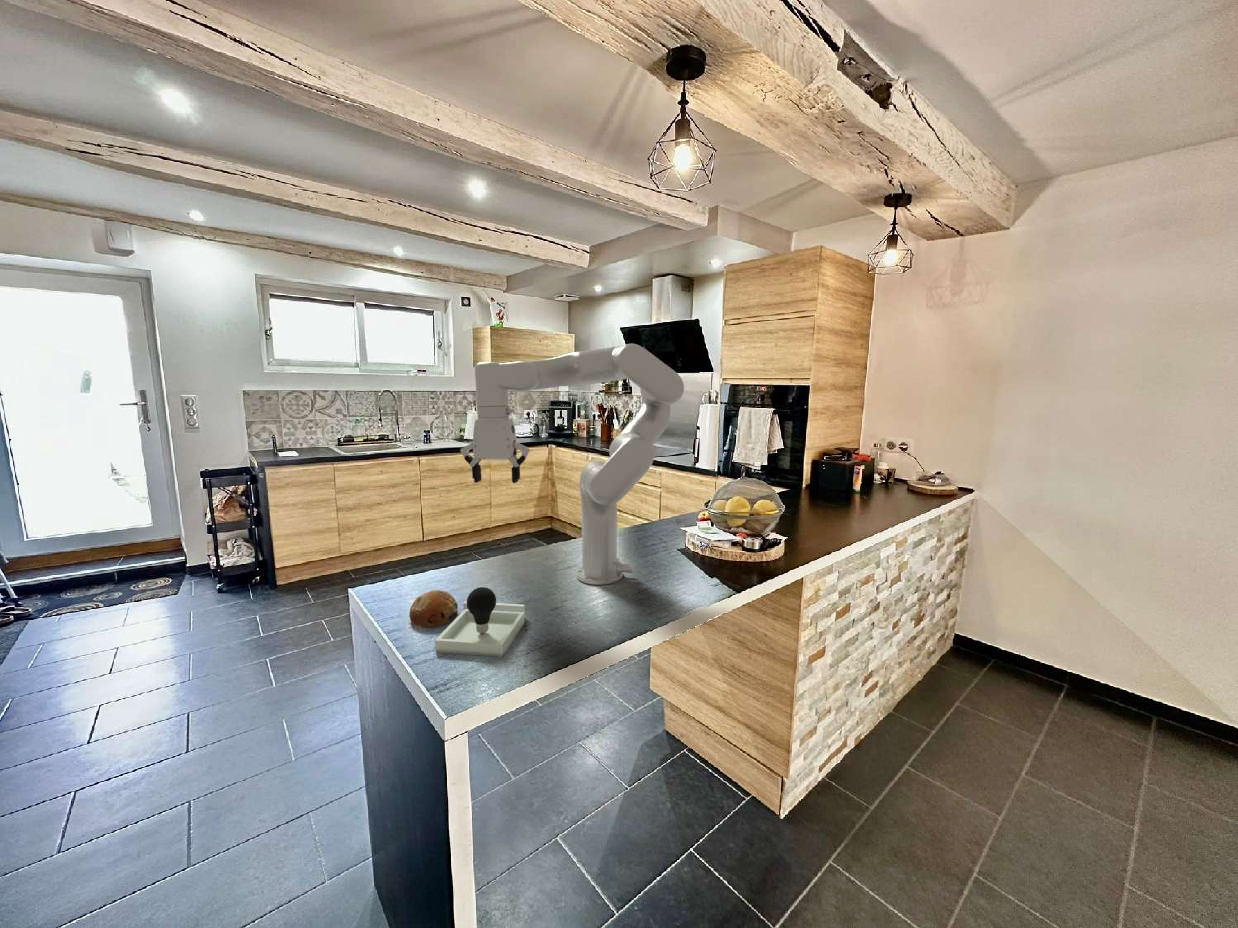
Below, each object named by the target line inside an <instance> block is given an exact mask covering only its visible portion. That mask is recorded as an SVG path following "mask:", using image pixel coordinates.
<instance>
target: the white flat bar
mask: <svg viewBox="0 0 1238 928" xmlns="http://www.w3.org/2000/svg"><path fill="white" fill-rule="evenodd" d="M462 605H463V606H462V607H463V610H464V609H468V608H467V600H466V601H463V604H462ZM493 611H510V612H524V618H525V617H526V615H525V613H526V611H525V604H518V603H500V602H496V606H495V608H494V610H493Z"/></svg>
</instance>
